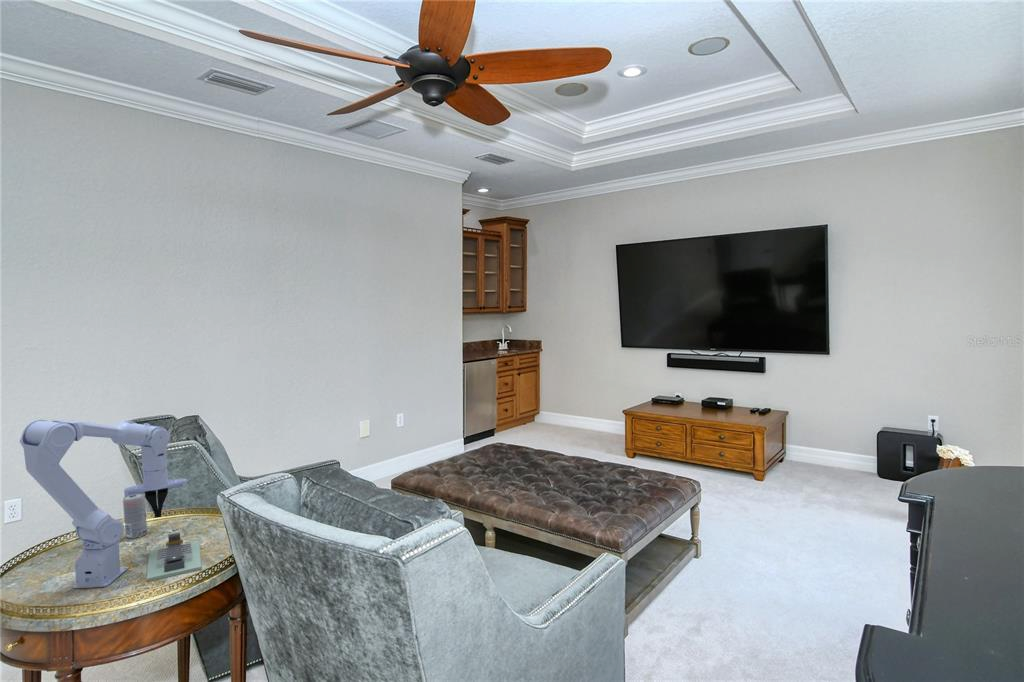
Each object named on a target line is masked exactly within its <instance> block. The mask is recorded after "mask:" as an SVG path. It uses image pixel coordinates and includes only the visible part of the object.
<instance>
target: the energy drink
mask: <svg viewBox="0 0 1024 682" xmlns="http://www.w3.org/2000/svg"><path fill="white" fill-rule="evenodd" d="M122 508H123V516H124V517H123V518H124V532H125V537H126V538H127V539H137V538H136V537H138V538H140V536H141V537H143V536H145V535H146V534H147V533H148V526H147V525H148V524H147V523H148V522H147V510H146V498H145V494H144V493H142V494H135V495H130V496H128V497H125V496H124V497H123V500H122Z"/></svg>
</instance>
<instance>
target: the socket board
mask: <svg viewBox="0 0 1024 682" xmlns="http://www.w3.org/2000/svg"><path fill="white" fill-rule="evenodd" d="M167 539H168V541H173V540H178V539H181V532H175V533H171V534H168V538H167ZM190 543H191V549H192V561H189V562H184V559H181V560H176V561H171V562H167V563H166V562H165V563H164V567H161V568H157V563H156V560H157V549H158V548H157V549H153V550H149V554H148V563H147V564H148V565H147V571H146V573H147V574H146V582H152V581H157V580H162V579H165V578H169V577H175V576H179V575H184V574H187V573H192V572H197V571H201V570H202V560H201V547H200V546H201V545H200V540H198V541H191V542H190ZM182 544H183V543H182ZM182 544H181V545H182ZM185 544H187V543H185ZM167 547H168V546H167ZM167 547H166V546H165V548H167ZM162 548H163V547H162ZM162 548H160V549H162Z"/></svg>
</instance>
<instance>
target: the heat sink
mask: <svg viewBox="0 0 1024 682" xmlns="http://www.w3.org/2000/svg"><path fill="white" fill-rule="evenodd" d="M181 555H182V559H184V562H189V561H192V549H191V542H188V543H187V544H186V543H182V545H181ZM166 558H167V548H166V547H162V549H161V548H157V560H156V563H157V568H161V567H164V563H165V562H166Z"/></svg>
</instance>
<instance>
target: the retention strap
mask: <svg viewBox="0 0 1024 682" xmlns="http://www.w3.org/2000/svg"><path fill="white" fill-rule="evenodd" d="M181 544H184V539H183V538H180V539H178V540H173V541H169V540H168V541H166V542H165V548H166V547H167V558H166V563H167V562H171V561H176V560H181V559H182V555H181Z"/></svg>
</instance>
